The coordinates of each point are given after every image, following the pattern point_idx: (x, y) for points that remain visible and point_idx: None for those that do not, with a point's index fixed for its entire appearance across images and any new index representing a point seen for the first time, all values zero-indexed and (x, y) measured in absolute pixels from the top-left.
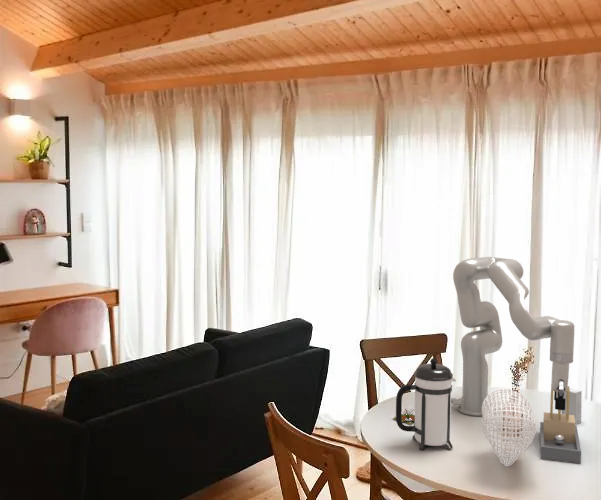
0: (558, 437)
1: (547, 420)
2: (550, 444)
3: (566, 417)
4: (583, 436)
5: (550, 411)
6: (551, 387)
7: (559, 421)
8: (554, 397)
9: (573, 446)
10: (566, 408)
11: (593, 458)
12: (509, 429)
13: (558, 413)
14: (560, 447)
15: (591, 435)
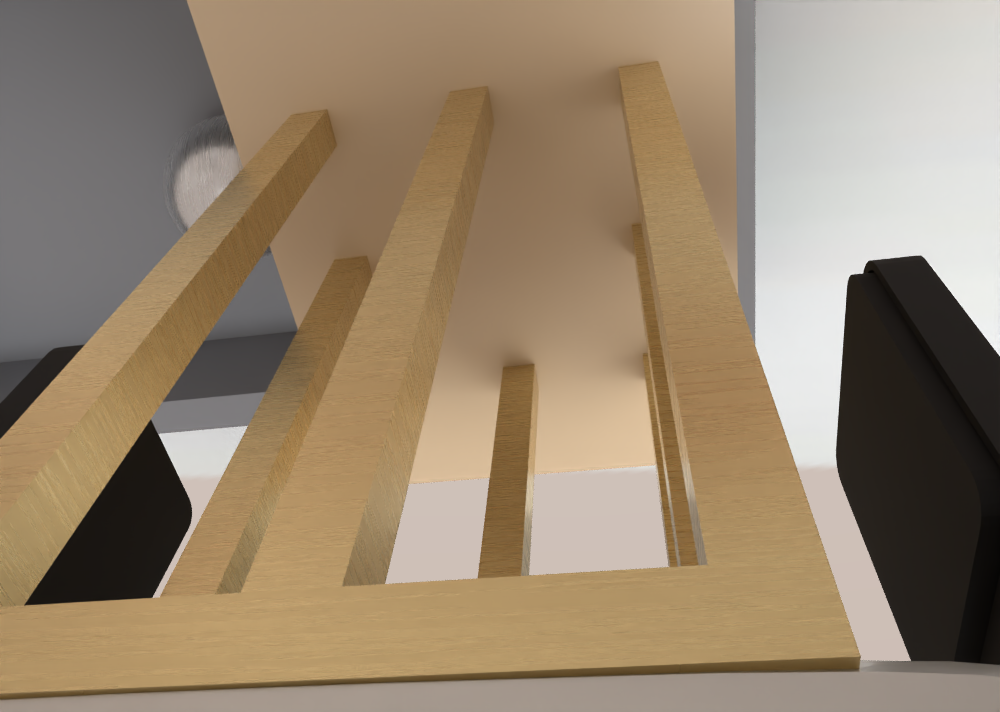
0: (164, 197)
1: (212, 58)
2: (169, 58)
3: (502, 378)
4: (773, 366)
5: (470, 122)
6: (119, 689)
7: (280, 277)
8: (900, 303)
9: (286, 315)
10: (655, 449)
11: (180, 463)
12: None
13: (633, 246)
14: (152, 188)
15: (836, 433)
